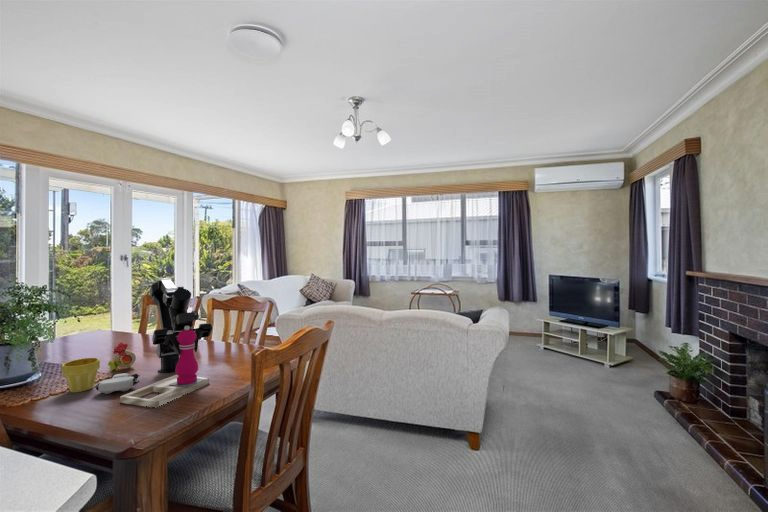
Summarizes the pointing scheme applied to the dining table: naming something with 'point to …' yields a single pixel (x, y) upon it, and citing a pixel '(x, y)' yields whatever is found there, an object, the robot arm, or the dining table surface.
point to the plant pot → (81, 373)
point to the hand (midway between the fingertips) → (187, 352)
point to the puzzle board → (168, 390)
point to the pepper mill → (186, 357)
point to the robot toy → (117, 383)
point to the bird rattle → (126, 359)
